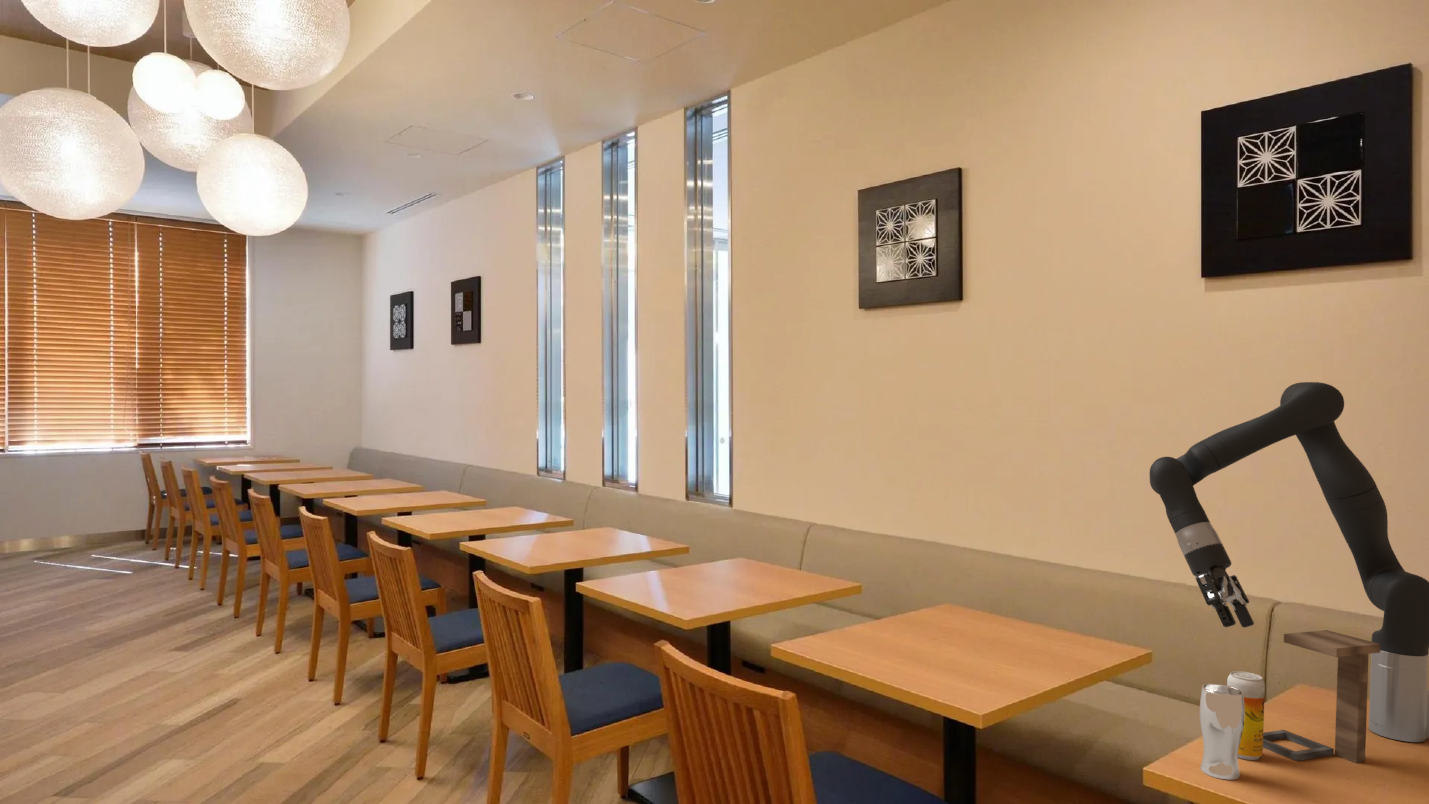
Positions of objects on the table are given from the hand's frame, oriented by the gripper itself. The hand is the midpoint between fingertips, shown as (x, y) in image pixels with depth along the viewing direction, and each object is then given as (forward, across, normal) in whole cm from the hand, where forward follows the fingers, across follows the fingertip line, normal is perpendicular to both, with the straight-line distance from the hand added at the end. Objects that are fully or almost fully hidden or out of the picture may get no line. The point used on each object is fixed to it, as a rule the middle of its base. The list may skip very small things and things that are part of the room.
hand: (1239, 626), depth 174 cm
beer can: (+22, -4, +8) cm, 24 cm away
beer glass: (+24, -16, +8) cm, 30 cm away
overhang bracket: (+24, +8, +2) cm, 26 cm away
